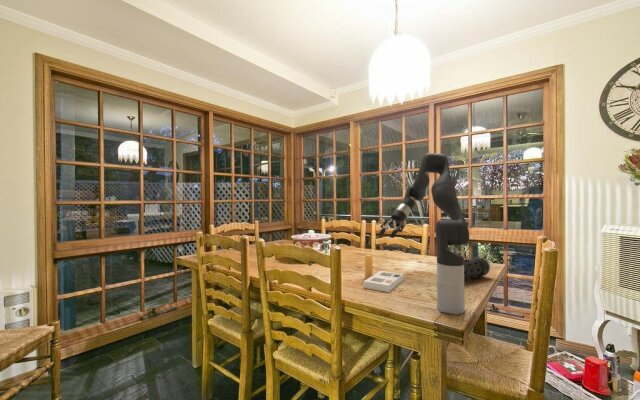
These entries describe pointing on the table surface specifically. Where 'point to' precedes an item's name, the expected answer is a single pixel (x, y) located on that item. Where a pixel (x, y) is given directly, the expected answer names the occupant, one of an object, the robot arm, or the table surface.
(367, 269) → the plug
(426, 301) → the table surface
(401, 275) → the socket plate
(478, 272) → the muzzle brake
